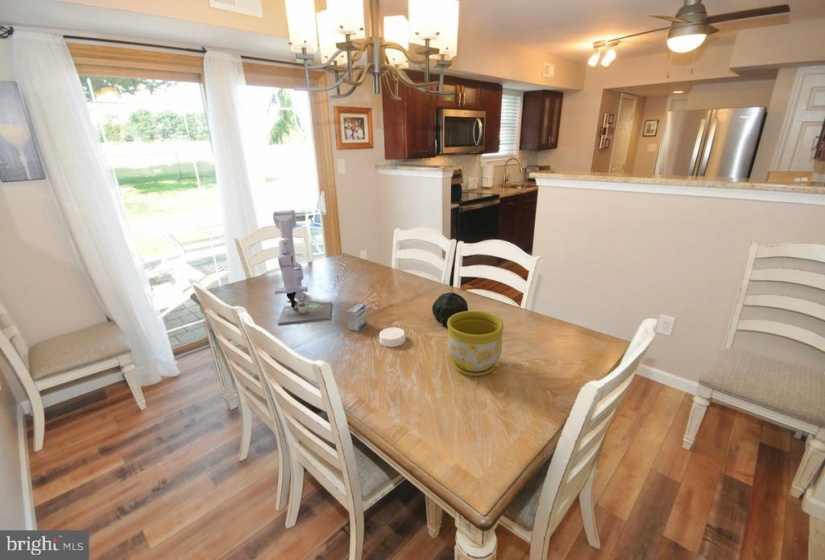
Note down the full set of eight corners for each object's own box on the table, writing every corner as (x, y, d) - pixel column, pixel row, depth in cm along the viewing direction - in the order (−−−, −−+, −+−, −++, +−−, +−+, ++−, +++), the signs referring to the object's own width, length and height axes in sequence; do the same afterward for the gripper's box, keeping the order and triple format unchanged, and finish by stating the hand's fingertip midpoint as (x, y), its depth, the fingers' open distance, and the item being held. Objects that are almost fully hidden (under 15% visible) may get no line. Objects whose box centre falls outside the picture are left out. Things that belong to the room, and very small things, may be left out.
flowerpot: (464, 346, 134) (465, 306, 129) (510, 362, 123) (513, 319, 118) (436, 368, 121) (436, 325, 116) (484, 389, 110) (486, 342, 105)
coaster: (382, 349, 134) (381, 341, 133) (377, 336, 143) (377, 329, 142) (408, 345, 137) (408, 336, 136) (402, 333, 146) (401, 325, 145)
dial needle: (309, 312, 163) (308, 304, 162) (300, 314, 161) (299, 307, 160) (299, 303, 173) (298, 296, 172) (291, 305, 171) (289, 298, 170)
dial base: (284, 307, 172) (284, 305, 172) (331, 303, 175) (331, 301, 175) (277, 325, 155) (277, 322, 155) (329, 319, 159) (329, 317, 158)
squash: (445, 298, 163) (435, 282, 151) (476, 306, 156) (468, 290, 144) (433, 327, 158) (422, 312, 146) (465, 336, 151) (456, 322, 139)
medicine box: (358, 331, 148) (356, 312, 145) (348, 330, 149) (346, 311, 146) (366, 322, 155) (365, 304, 152) (357, 321, 156) (355, 303, 153)
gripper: (271, 284, 159) (276, 311, 164) (305, 281, 161) (308, 308, 166) (274, 278, 166) (278, 305, 170) (306, 276, 168) (310, 302, 172)
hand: (293, 306), depth 169 cm, fingers closed, pressing on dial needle
